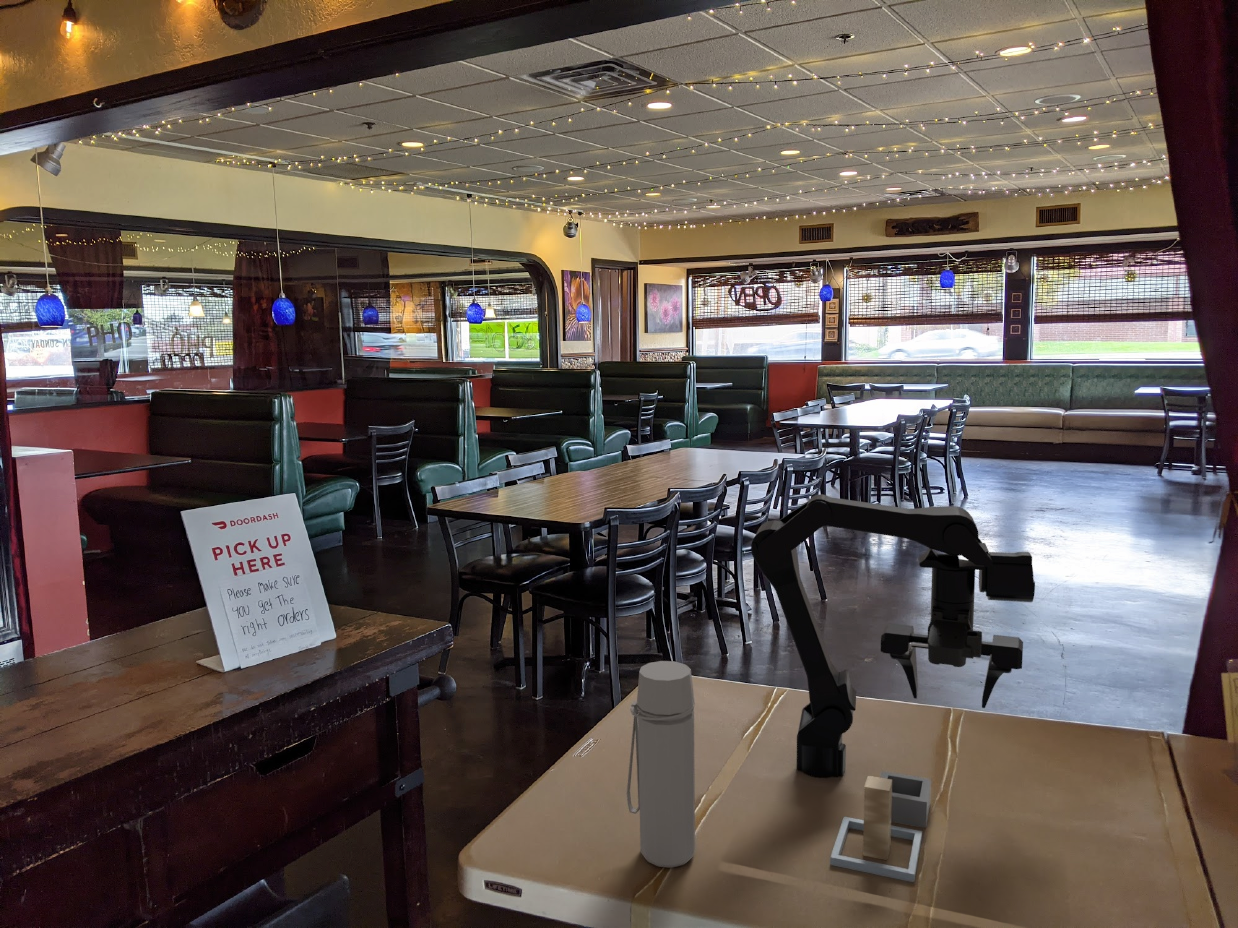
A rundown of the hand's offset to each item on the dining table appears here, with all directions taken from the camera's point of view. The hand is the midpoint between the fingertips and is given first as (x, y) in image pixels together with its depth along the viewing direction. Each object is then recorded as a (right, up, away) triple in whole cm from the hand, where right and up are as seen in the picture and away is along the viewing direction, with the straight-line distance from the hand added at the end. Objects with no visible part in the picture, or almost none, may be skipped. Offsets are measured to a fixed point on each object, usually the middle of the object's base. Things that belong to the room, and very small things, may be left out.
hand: (949, 702), depth 132 cm
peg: (-14, -15, -15) cm, 26 cm away
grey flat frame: (-14, -16, -15) cm, 26 cm away
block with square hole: (-8, -14, -5) cm, 17 cm away
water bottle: (-42, -16, -13) cm, 47 cm away
